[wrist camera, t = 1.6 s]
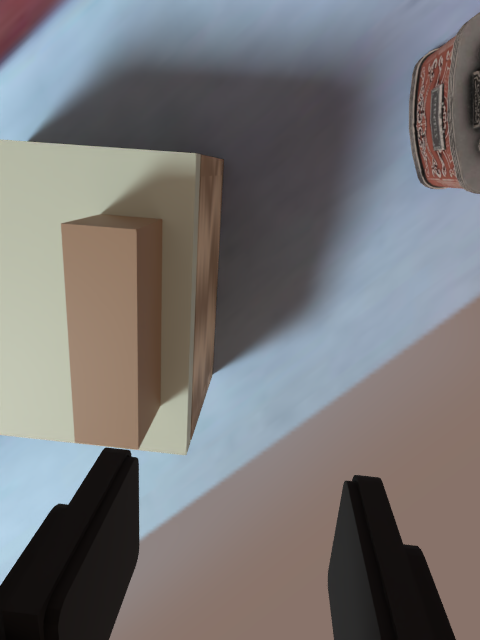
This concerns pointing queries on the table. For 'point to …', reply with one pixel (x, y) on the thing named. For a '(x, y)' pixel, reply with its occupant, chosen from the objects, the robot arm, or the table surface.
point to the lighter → (448, 113)
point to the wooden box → (206, 279)
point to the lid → (98, 294)
